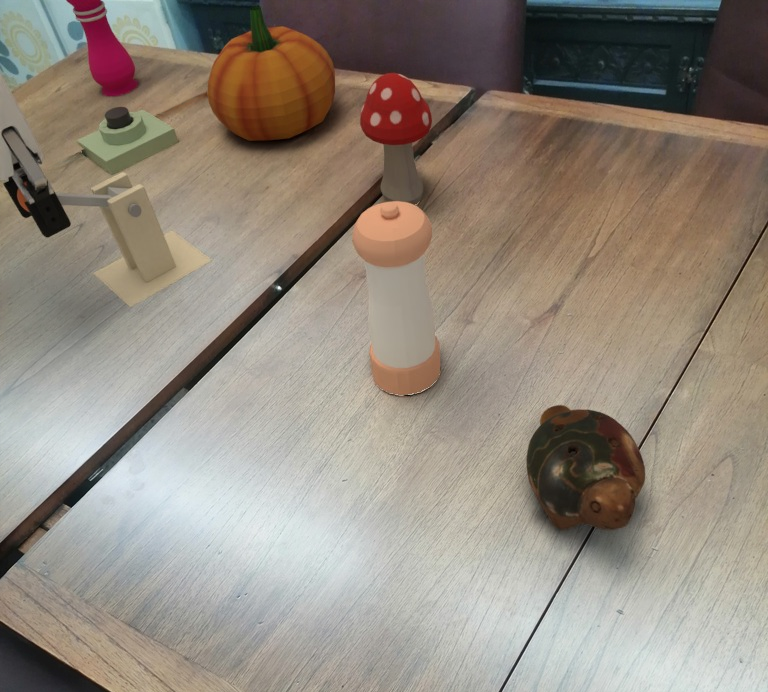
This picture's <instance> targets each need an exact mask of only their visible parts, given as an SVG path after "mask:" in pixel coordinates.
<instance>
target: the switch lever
mask: <svg viewBox="0 0 768 692" xmlns="http://www.w3.org/2000/svg"><path fill="white" fill-rule="evenodd" d="M24 184H25V185H26V182H24ZM26 186H27V185H26ZM128 189H129V188H112V187H108V195H96V194H93V193H74V192H59V191H57V192H56V191H55V193H56V195H57V197H58V199H59V201H60V203H61V205H62V206H70V207H71V206H77V207H97V208H98V207H99V208H100V207H107V208H108V209H109V210H110V211H111V209H110V207H109V205H108V203H107V200H109V199H111V198H113V197H115V196H117V195H119V194H120V193H122V192H124V191H126V190H128ZM17 198H18V201H19V203H20V205H21V206H22V207H23V208H24V209H25V210H26V211H28V212H29V210H28V208H27V207H26V205H25V203H24V202H26V201H27V200H26V199H25V197H24V195H23V194H22V192H21V191H20V189H19V188H18V191H17ZM111 212H112V211H111Z"/></svg>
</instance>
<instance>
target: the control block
mask: <svg viewBox="0 0 768 692" xmlns="http://www.w3.org/2000/svg"><path fill="white" fill-rule="evenodd" d="M129 114H130V116H131V119H132V123H131V124H130V125H129V126H127V127H125V128H121V129H110V128H109V125H108V123H107V121H106V118H105V117H104V119H103V120H102V121H101V122H100V123H99V126H98V129H97V130H95V131H93V132H91V133H89V134H87V135H84V136H82V137H81V138H79V139H76V142H77V145H79V146H80V147H81V148H82V149H81V150H80V151H81V153H82V154H83V155H84V156H85V157H86V158H88V159H89V160H91V161H92V162H93V163H95V164H96V165H97V166H99V167H100V168H102V170H104V171H106V172H107V173H108V174H110V175H111V176H113V175H115V174H118V173H119V172H121V171H123V170H126V169H128V168H129V167H131V166H133V165H135V164H137V163H139V162H141V161H143V160H145V159H147V158H149V157H151V156H154V155H155V154H157V153H159V152H161V151H164V150H166V149H167V148H169V147H171V146H173V145H176V144H177V143H179V139H178V136H177V134H176V130H175V128H174V127H173V126H171V125H169V124H168V123H166V122H165V121H162V120H161V119H159V118H158V117H156V116H154V115H153V114H151V113H149V112H148V111H146V110H145V109H143V108H142V109H140V110H138V111H129Z"/></svg>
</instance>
